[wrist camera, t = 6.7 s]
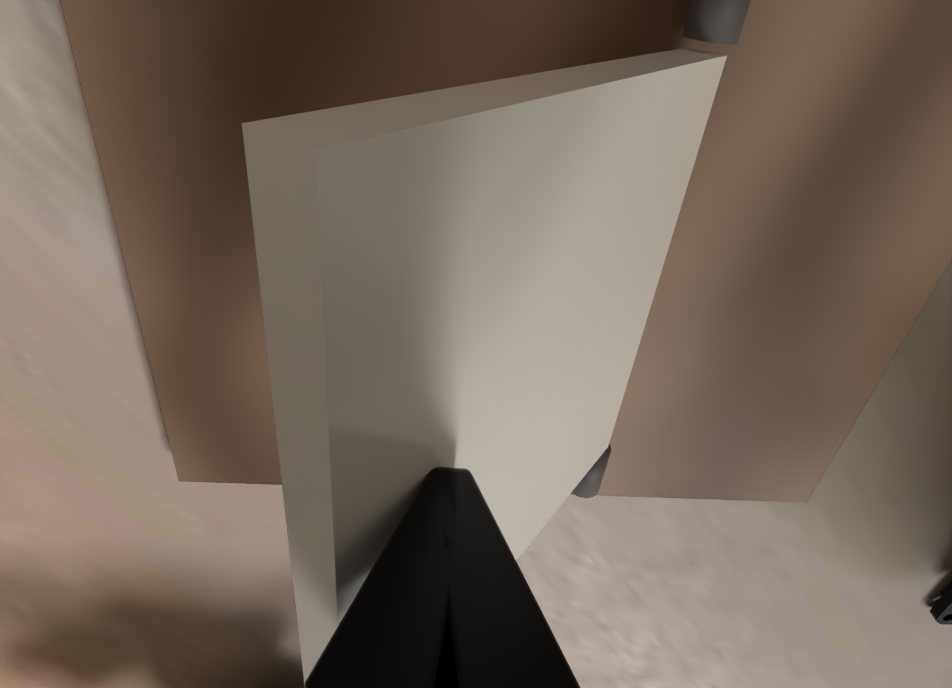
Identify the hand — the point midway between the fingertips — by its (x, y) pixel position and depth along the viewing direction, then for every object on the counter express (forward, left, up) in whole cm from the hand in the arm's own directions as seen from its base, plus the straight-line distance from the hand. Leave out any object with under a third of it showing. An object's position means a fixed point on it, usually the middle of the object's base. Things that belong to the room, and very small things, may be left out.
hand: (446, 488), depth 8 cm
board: (-3, 0, -8) cm, 9 cm away
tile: (-2, 0, -2) cm, 3 cm away
